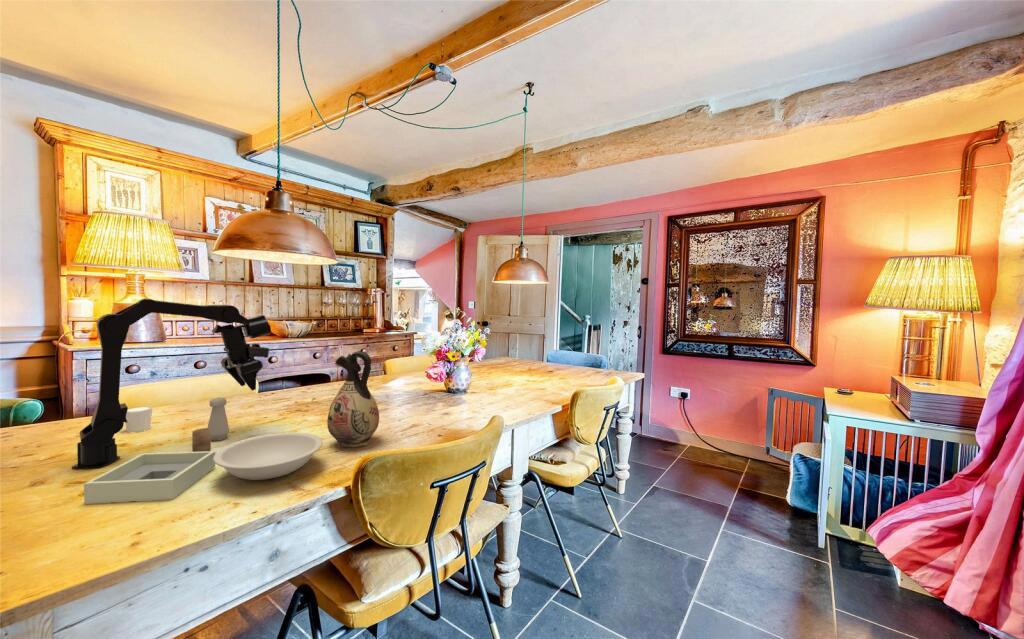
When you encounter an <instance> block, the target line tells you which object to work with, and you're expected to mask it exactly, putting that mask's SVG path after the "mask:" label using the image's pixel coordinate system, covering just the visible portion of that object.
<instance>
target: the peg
mask: <svg viewBox="0 0 1024 639" xmlns="http://www.w3.org/2000/svg"><path fill="white" fill-rule="evenodd" d="M191 435H192V437H191V440H192V445H191V449H192V450H191V452H204V451H212V448H211V446H212V441H211V429H210V428H207V427H204V428H197V429H194V430H192V434H191Z"/></svg>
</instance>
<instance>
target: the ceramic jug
mask: <svg viewBox="0 0 1024 639" xmlns="http://www.w3.org/2000/svg"><path fill="white" fill-rule="evenodd" d="M358 359H361V360H363V365H364V366H363V369H362V368H361V366H360V363H358ZM334 364H335V365H336V366H339V367H341V368H342V369H344V370H345V371H346V372H347V376H346V380H345V381H344V383H343V384H342V386H341V387H340V389H338V392H337V393H336V395H335V397H334V398H333V400H332V402H331V403H330V407H329V411H328V412H327V413H328V414H327V419H326V424H327V425H326V426H327V430H328V432H329V434H330V435H331V436H332V437H333V438H334V439H335V440H336V442H337V443H338V446H339V445H340V446H339V447H341V446H343V447H342V448H345V447H352V448H358V446H359V447H364V446H367V445H368V444H369V443H370V442H371V437H372V436H373V435H374V434H375V433H376V431H377V429H378V427H379V423H380V411H379V408H378V405H377V402H376V399H375V398H374V396H373V394H372V393H371V391H370V390H369V388H368V380H369V378H370V374H371V371H372V358H371V356H370V355H369V354H368V353H367V352H365V351H361V350H359V351H355V352H352V353H348V355H347V356H343V355H341V356H339V357H338V358H337V359H336V361H335V362H334ZM362 370H363V371H362ZM361 371H362V375H361V377H360V372H361ZM366 444H367V445H366Z"/></svg>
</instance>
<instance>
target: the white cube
mask: <svg viewBox="0 0 1024 639" xmlns="http://www.w3.org/2000/svg"><path fill="white" fill-rule="evenodd" d="M152 413H153V407H152V406H138V407H132V408H128V410H127V413H126V420H127V423H125V422H124V425H125V429H126V431H127V432H126V433H128V432H136V433H140V432H139V431H142V432H145V431H144V430H146V431H148V430H147V429H149V430H150V429H151V422H152V417H153V416H152Z"/></svg>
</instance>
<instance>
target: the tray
mask: <svg viewBox="0 0 1024 639" xmlns="http://www.w3.org/2000/svg"><path fill="white" fill-rule="evenodd" d="M215 454H216V451H215V450H211V451H204V452H192V451H182V452H179V451H178V452H151V453H148V452H146V453H141V454H139V455H137V456H135V457H133V458H131V459H129V460H127V461H126V462H124V463H122V464H120V465H117V466H115V467H114V468H112V469H110V470H108V471H106V472H104V473H103V474H100V475H98V476H96V477H94V478H92V479H90V480H88V481H87V482H85V483H84V484H83V499H84V500H83V501H84V505H95V504H110V503H111V502H117V503H130V501H136V502H149V501H151V502H153V500H155V501H170V500H171V501H172V500H174V499H176V498H177V497H179V495H181V494H182V493H183V492H185V491H187V490H188V489H189V488H190V487H192V486H193V485H194V484H196V483H197V482H198V481H200V480H201V479H202V478H204V477H205V476H206V475H208V474H209V473H210V472H212V471H213V470H214V469H215V468H216V464H215V462H214V460H213V458H214V455H215ZM214 467H215V468H214ZM213 468H214V469H213ZM212 469H213V470H212ZM211 470H212V471H211ZM209 471H210V472H209ZM208 472H209V473H208ZM207 473H208V474H207ZM205 474H206V475H205ZM204 475H205V476H204ZM203 476H204V477H203ZM200 478H201V479H200ZM199 479H200V480H199ZM196 481H197V482H196ZM195 482H196V483H195ZM111 504H112V503H111Z"/></svg>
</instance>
